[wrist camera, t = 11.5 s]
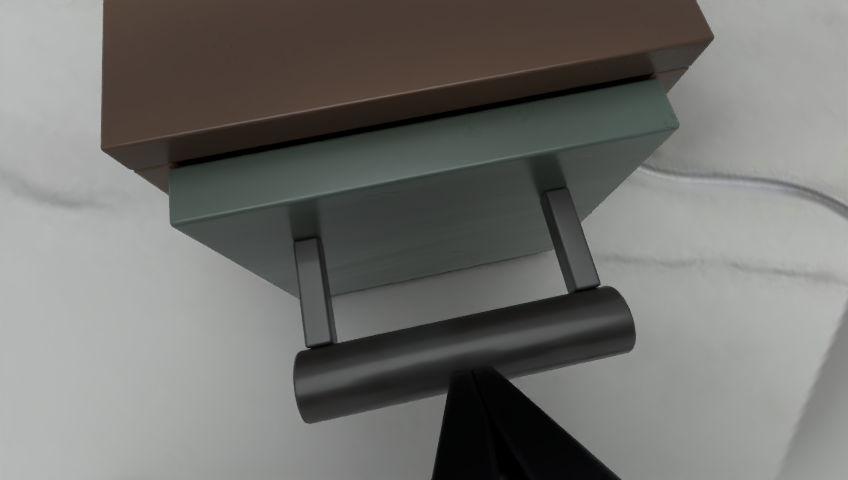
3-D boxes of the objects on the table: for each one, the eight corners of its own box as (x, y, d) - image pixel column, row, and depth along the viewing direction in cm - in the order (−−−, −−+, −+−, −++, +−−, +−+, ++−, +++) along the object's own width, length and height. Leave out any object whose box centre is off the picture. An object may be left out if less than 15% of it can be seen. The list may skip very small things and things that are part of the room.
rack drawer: (585, 351, 16) (773, 328, 7) (316, 411, 15) (175, 463, 7) (476, 4, 20) (512, -256, 12) (269, 39, 20) (153, -207, 11)
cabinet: (552, 226, 18) (716, 37, 8) (290, 279, 17) (98, 150, 7) (475, -18, 22) (516, -354, 12) (259, 18, 21) (107, -304, 11)
